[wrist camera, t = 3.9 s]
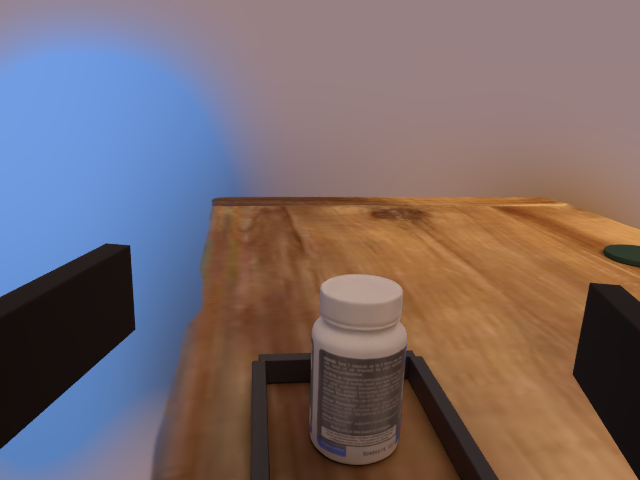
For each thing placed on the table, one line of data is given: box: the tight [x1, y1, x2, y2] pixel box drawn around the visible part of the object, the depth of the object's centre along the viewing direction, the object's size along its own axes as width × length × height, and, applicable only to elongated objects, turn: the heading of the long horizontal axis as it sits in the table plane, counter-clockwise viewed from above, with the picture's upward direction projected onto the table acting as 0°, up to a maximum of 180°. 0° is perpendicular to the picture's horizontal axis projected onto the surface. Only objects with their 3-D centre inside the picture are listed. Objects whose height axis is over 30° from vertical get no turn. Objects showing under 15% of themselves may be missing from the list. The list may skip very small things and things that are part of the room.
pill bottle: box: [309, 274, 407, 465], centre depth 26 cm, size 5×5×8 cm
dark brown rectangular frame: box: [251, 350, 499, 480], centre depth 27 cm, size 13×11×2 cm
